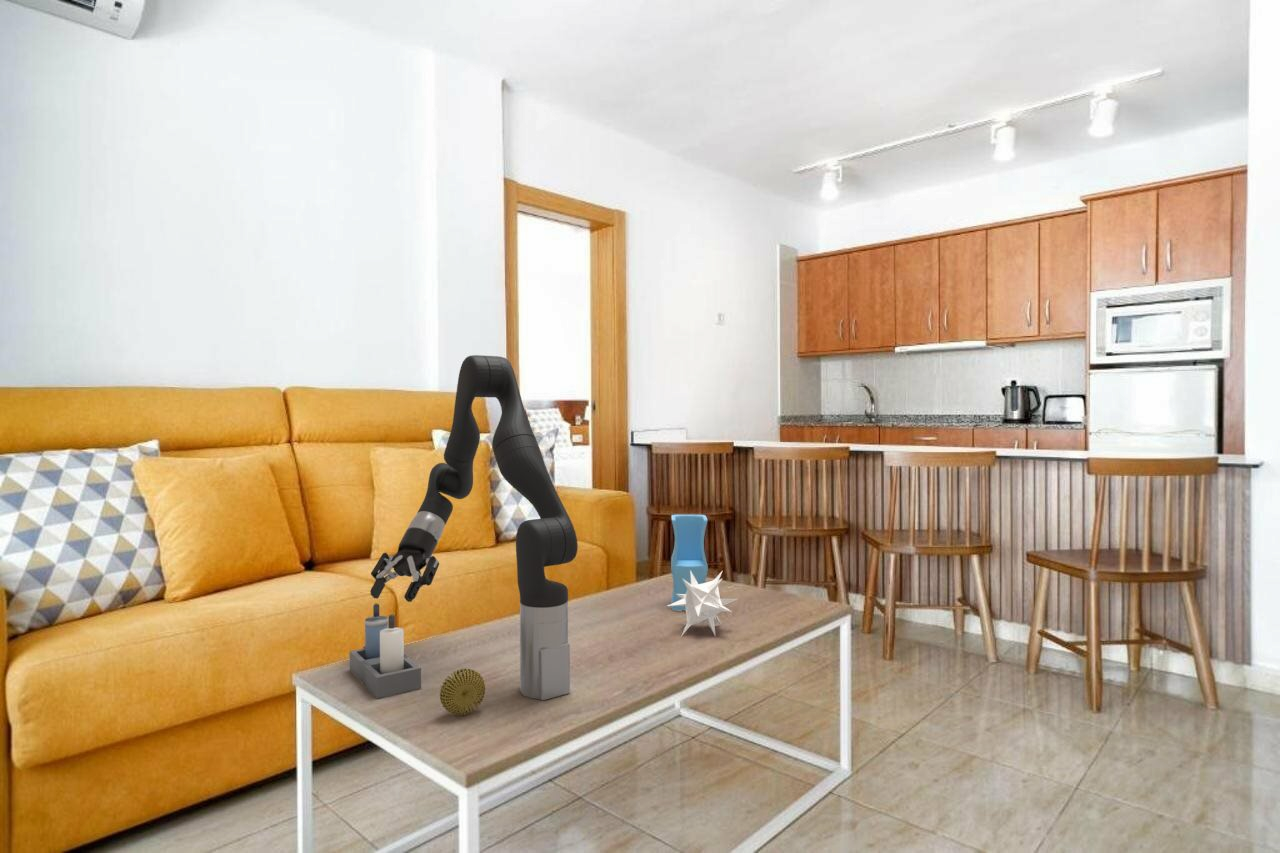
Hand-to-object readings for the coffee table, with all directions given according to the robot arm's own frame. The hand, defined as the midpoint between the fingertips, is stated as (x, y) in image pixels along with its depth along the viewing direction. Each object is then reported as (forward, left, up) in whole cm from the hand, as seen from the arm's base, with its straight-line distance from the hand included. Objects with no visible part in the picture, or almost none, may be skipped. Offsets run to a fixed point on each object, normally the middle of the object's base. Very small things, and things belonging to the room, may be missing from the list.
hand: (390, 598), depth 151 cm
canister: (-3, +4, -14) cm, 15 cm away
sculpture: (-33, -2, -14) cm, 36 cm away
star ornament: (-22, -69, -14) cm, 74 cm away
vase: (-3, -81, -14) cm, 83 cm away
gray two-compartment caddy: (-8, +4, -14) cm, 17 cm away
